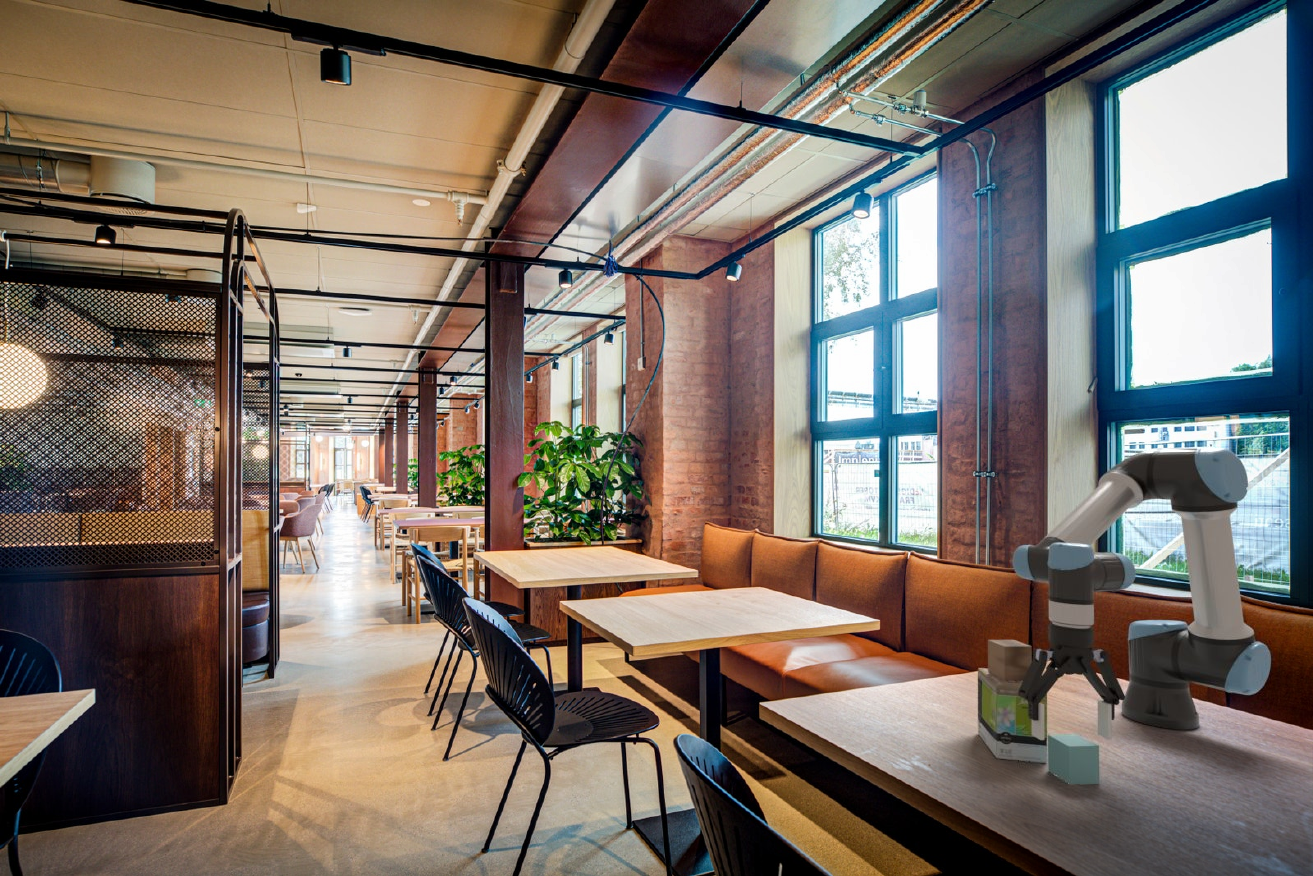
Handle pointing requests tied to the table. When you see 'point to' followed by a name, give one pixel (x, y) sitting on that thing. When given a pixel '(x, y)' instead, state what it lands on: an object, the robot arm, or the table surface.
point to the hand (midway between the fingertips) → (1071, 737)
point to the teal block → (1073, 759)
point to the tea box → (1008, 720)
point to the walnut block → (1009, 659)
